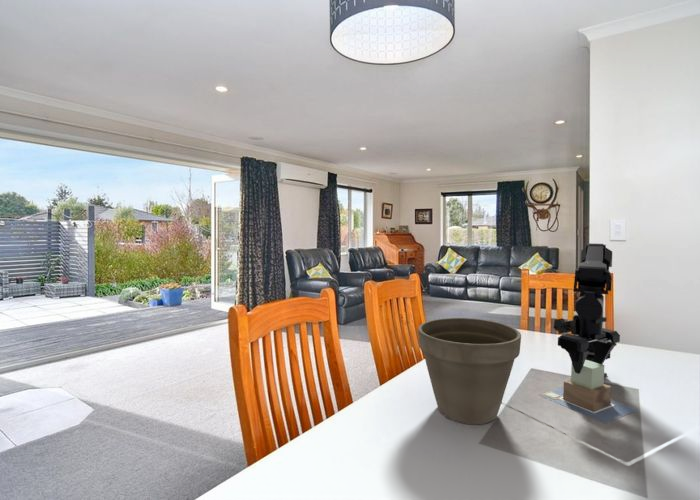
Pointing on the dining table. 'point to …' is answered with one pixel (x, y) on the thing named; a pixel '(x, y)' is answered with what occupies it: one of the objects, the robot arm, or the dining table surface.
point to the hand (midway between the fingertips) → (587, 370)
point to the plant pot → (469, 365)
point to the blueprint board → (601, 414)
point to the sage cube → (589, 375)
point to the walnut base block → (587, 395)
